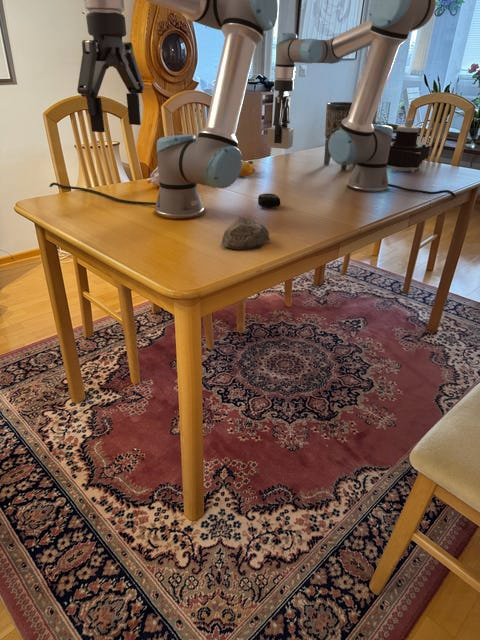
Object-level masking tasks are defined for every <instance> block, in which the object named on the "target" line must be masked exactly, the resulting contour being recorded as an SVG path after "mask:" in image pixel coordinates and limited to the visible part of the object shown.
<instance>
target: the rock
mask: <svg viewBox="0 0 480 640" xmlns="http://www.w3.org/2000/svg"><path fill="white" fill-rule="evenodd" d="M269 241H270V233H269V230H268V229H267V228H266V226H265V225H263V224H261V223H259V222H256V221H255V220H252V219H247V218H245V217H241V216H238V217H237V218H236V219H235V221H234V222H233V223H232V224H231V225H229V226H228V227H227V228H226V229H225V231H224V233H223V236H222V239H221V244H222V247H224V248H229V249H231V250H245V249H254V248H257V247H259V246H260V245H264V244H266V242H269Z"/></svg>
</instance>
